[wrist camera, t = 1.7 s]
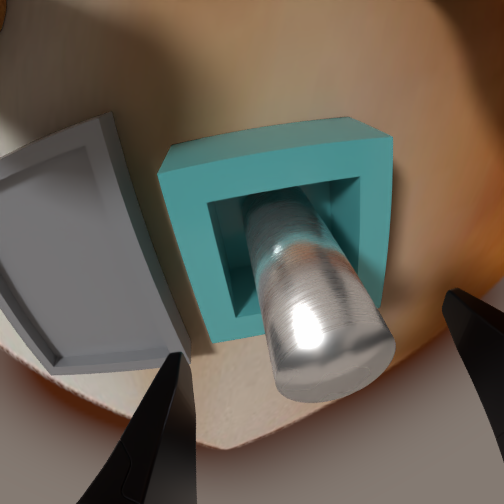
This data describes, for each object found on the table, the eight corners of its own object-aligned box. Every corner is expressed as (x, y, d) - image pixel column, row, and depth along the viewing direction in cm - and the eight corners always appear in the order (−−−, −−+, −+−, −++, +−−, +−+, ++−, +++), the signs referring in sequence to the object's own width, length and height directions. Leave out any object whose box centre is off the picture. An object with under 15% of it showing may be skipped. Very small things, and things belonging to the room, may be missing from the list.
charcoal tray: (111, 111, 13) (98, 117, 12) (191, 341, 22) (190, 363, 20) (-41, 181, 13) (-59, 194, 11) (57, 356, 22) (51, 375, 20)
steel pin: (306, 174, 16) (405, 310, 7) (311, 235, 18) (385, 384, 9) (236, 187, 16) (268, 343, 7) (247, 247, 18) (280, 411, 9)
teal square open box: (349, 116, 15) (393, 136, 11) (351, 260, 20) (380, 307, 16) (171, 145, 15) (157, 174, 11) (210, 288, 20) (212, 343, 16)
